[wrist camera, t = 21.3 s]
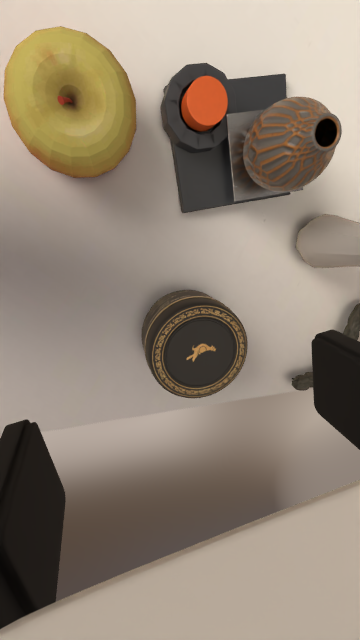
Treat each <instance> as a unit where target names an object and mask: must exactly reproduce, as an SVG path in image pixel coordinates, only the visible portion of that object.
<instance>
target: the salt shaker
mask: <svg viewBox="0 0 360 640" xmlns="http://www.w3.org/2000/svg"><path fill="white" fill-rule="evenodd" d="M296 249H297V250H298V251H299V252H300V254H301V256H302V258H303V260H304V261H305V262H306V263H308V264H309V265H311V266H312V267H314V268H333V267H355V266H360V223H358V222H354V221H351V220H348V219H345V218H342V217H338V216H335V215H328V214H323V215H321V216H318V217H316V218H314V219H312V220H311V221H310V222H309V223H308V224H307V225H306V226H305V227H304V228H303V229H301V230H300V231H299V232H298V237H297V243H296Z"/></svg>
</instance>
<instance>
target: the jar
mask: <svg viewBox="0 0 360 640" xmlns="http://www.w3.org/2000/svg"><path fill="white" fill-rule="evenodd" d="M142 344H143V348H144V351H145V356H146V360H147V363H148V366H149V368H150V370H151V372H152V374H153V376H154V377H155V379H156V380H157V382H158V383H159V384H160V385H161V386H162V387H163V388H164V389H166V390H167V391H169V392H170V393H172V394H175V395H177V396H181V397H186V398H201V397H206V396H209V395H212V394H214V393H217V392H218V391H220V390H222V389H223V388H225V387H226V386H227V385H229V384H230V383H231V382H232V381H233V380H234V379H235V377H236V376H237V375H238V373H239V372H240V370H241V368H242V366H243V364H244V361H245V358H246V354H247V336H246V332H245V330H244V327H243V325H242V323H241V322H240V320H239V319H238V317H237V316H236V315H235V314H234V313H233V312H232V311H231V310H230V309H229V308H228V307H227V306H225V305H224V304H223V303H221V302H219V301H217V300H215V299H213V298H212V297H210V296H208V295H206V294H204V293H202V292H198V291H193V290H182V291H176V292H173V293H170V294H168V295H166V296H164V297H162V298H161V299H159V300H158V301H157V302H156V303H155V304H154V305H153V306H152V307H151V309H150V310H149V312H148V314H147V315H146V318H145V320H144V323H143V327H142Z"/></svg>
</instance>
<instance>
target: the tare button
mask: <svg viewBox="0 0 360 640" xmlns="http://www.w3.org/2000/svg"><path fill="white" fill-rule="evenodd" d="M227 106H228V98H227V93H226V90H225V88H224V86H223V85H222V84H221V83H220V82H219V81H218V80H217V79H216V78H214V77H211V76H202V77H199V78H197V79H196V80H195V81H194V82H193V83H192V84H191V85H190V87H189V88H188V90H187V91H186V93H185V94H184V96H183V99H182V103H181V112H182V116H183V118H184V120H185V122H186V123H187V125H188V126H189V127H190V128H192V129H193V130H196V131H207V130H209V129H211V128H212V127H213V126H215V125H216V124H217V123H218V122H220V121H221V120H222V118H223V117H224V115H225V113H226V110H227Z"/></svg>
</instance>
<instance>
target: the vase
mask: <svg viewBox="0 0 360 640" xmlns="http://www.w3.org/2000/svg"><path fill="white" fill-rule="evenodd" d="M341 131H342V130H341V124H340V121H339V119H338V118H337V117H336V116H335V115H333V114H331V113H330V111H329V110H328V109H327V108H326V107H325V106H324V105H323V104H322V103H320V102H319V101H317V100H314V99H311V98H307V97H292V98H287V99H283V100H281V101H278V102H276V103H274V104H273V105H271V106H270V107H268V108H267V109H266V110H264V111H263V112H262V113H261V114H260V115H259V116H258V117H257V118H256V119H255V121H254V122H253V124H252V125H251V127H250V129H249V131H248V133H247V135H246V138H245V142H244V147H243V159H244V164H245V167H246V170H247V172H248V174H249V175H250V177H251V178H252V179H253V180H254V181H255V182H256V183H257V184H258V185H260V186H261V187H263V188H265V189H268V190H271V191H291V190H295V189H298V188H301V187H303V186H305V185H307V184H308V183H310V182H311V181H313V180H314V179H315V178H317V177H318V176H319V175H320V174H321V173H322V172H323V171H324V169H325V168H326V167H327V165H328V164H329V162H330V160H331V158H332V156H333V154H334V151H335V147H336V145H337V144H338V142H339V140H340V137H341Z"/></svg>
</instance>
